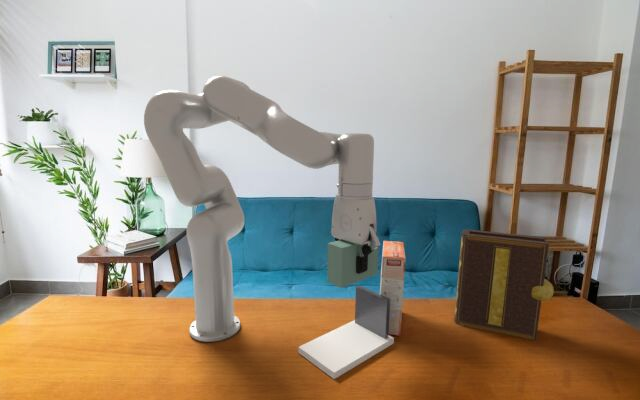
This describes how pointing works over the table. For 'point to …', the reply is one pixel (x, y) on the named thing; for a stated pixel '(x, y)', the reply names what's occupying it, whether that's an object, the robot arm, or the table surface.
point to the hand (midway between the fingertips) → (353, 268)
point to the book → (502, 282)
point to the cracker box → (393, 281)
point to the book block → (348, 263)
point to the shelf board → (343, 348)
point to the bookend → (372, 311)
